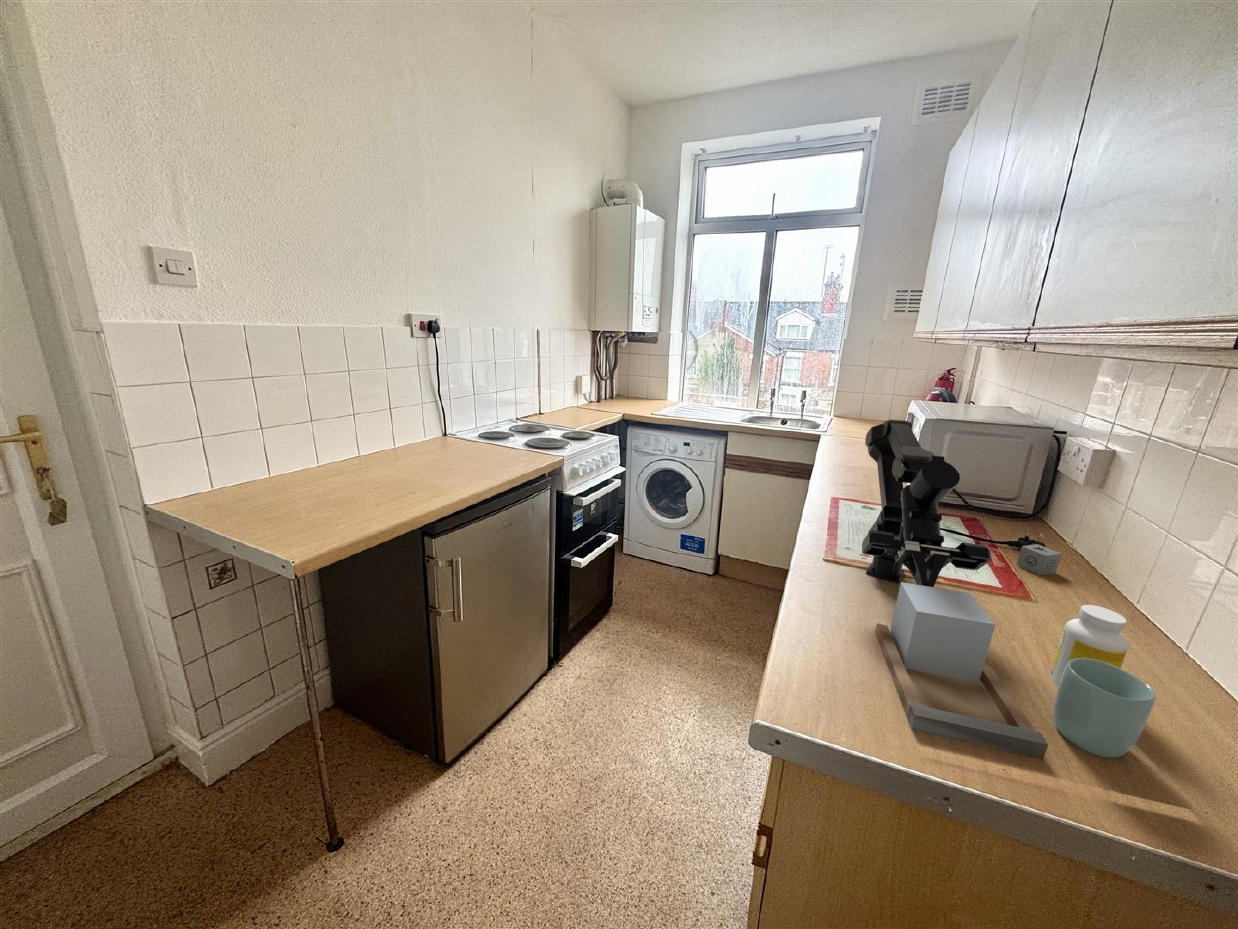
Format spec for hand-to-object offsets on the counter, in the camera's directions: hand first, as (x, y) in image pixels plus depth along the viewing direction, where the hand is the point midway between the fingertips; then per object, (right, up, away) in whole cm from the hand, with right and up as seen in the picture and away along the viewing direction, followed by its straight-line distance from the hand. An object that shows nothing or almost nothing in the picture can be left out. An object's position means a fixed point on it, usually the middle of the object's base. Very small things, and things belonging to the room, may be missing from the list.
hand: (926, 597), depth 80 cm
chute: (-4, -11, -10) cm, 15 cm away
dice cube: (+44, -2, +28) cm, 52 cm away
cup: (+8, -14, -19) cm, 25 cm away
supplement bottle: (+17, -11, -9) cm, 22 cm away
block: (-2, -8, -4) cm, 10 cm away
